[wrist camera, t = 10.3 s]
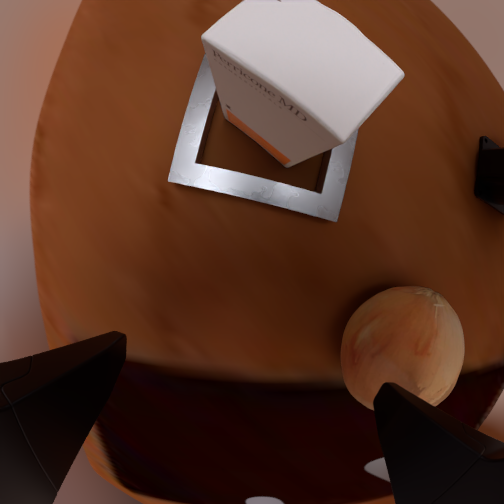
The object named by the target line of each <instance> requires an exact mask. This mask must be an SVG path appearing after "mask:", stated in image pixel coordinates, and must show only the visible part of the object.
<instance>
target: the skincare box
mask: <svg viewBox="0 0 504 504" xmlns="http://www.w3.org/2000/svg"><path fill="white" fill-rule="evenodd" d="M201 39H202V42H203V45H204V49H205V52H206V56H207V59H208V63H209V66H210V69H211V73H212V76H213V79H214V83H215V86H216V90H217V94H218V97H219V100H220V104H221V107H222V111H223V114H224V118H225V119H226V120H228V121H229V122H230V123H232V124H233V125H235V126H236V127H237V128H239V129H240V130H241V131H243V132H244V133H245V134H246V135H248V136H249V137H250V138H252V139H253V140H254V141H256V142H257V143H258V144H259V145H260V146H262V147H263V148H264V149H265V150H266V151H267V152H269V153H270V154H271V155H272V156H273V157H274V158H275V159H277V160H278V161H279V162H280V163H281V164H282V165H283V166H284V167H286V168H289V167H291V166H293V165H295V164H297V163H300V162H302V161H304V160H306V159H309V158H311V157H313V156H316V155H318V154H321V153H323V152H325V151H327V150H330V149H332V148H335V147H337V146H339V145H341V144H344V143H345V142H346V141H347V140H348V139H349V138H350V137H351V135H352V134H353V133H354V132H355V131H356V130H357V129H358V128H359V127H360V126H361V125H362V123H363V122H364V121H365V120H366V119H367V118H368V117H369V116H370V115H371V113H372V112H373V111H374V110H375V109H376V108H377V107H378V106H379V105H380V104H381V102H382V101H383V100H384V99H385V98H386V97H387V96H388V95H389V93H390V92H391V91H392V90H393V89H394V88H395V87H396V86H397V84H398V83H399V82H400V81H401V80H402V79H403V77H404V72H403V71H402V70H401V69H400V68H399V67H398V66H397V65H396V64H395V63H394V62H393V61H392V60H391V59H390V58H389V57H388V56H387V55H386V54H385V53H384V52H383V51H381V50H380V49H379V48H378V47H377V46H376V45H375V44H374V43H372V42H371V41H370V40H369V39H368V38H366V37H365V36H364V35H363V34H362V33H361V32H360V31H359V30H358V29H357V28H356V27H355V26H354V25H353V24H352V23H351V22H349V21H348V20H346V19H345V18H344V17H343V16H341V15H340V14H338V13H337V12H335V11H334V10H332V9H330V8H328V7H326V6H324V5H322V4H321V3H319V2H318V1H316V0H244V1H243V2H241V3H240V4H239V5H237V6H236V7H235V8H233V9H232V10H231V11H230V12H228V13H227V14H226V15H224V16H223V17H222V18H221V19H220V20H218V21H217V22H216V23H215V24H214V25H213V26H212V27H210V28H209V29H208V30H207V31H206V32H205V33H204V34H203V35H202V37H201Z"/></svg>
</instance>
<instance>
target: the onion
mask: <svg viewBox="0 0 504 504" xmlns="http://www.w3.org/2000/svg"><path fill="white" fill-rule="evenodd" d="M463 359H464V336H463V330H462V327H461V323H460V320H459V318H458V316H457V314H456V313H455V311H454V310H453V308H452V307H451V306H450V305H449V303H448V302H447V301H446V299H445V298H444V297H443V296H442V295H441V294H439V293H437V292H434V291H433V290H432V289H429V288H425V287H421V286H404V287H393V288H390V289H387V290H385V291H382V292H380V293H378V294H376V295H374V296H373V297H371V298H370V299H368V300H367V301H366V302H364V303H363V304H362V305H361V306H360V307H359V308H358V309H357V310H356V311H355V312H354V314H353V315H352V316H351V318H350V319H349V321H348V323H347V325H346V327H345V330H344V333H343V337H342V344H341V368H342V374H343V378H344V381H345V384H346V386H347V388H348V390H349V392H350V393H351V394H352V396H353V397H354V398H356V399H357V400H358V401H359V402H360V403H362V404H363V405H364V406H366V407H368V408H370V409H372V410H374V407H373V400H374V398H375V396H376V394H377V393H378V391H379V389H380V387H381V386H382V384H383V383H385V382H394V383H396V384H398V385H399V386H401V387H403V388H404V389H406V390H408V391H409V392H411V393H413V394H414V395H416V396H418V397H419V398H421V399H423V400H424V401H426V402H428V403H429V404H431V405H433V406H436V405H438V404H439V403H440V402H441V401H443V400H444V399H445V398H446V397H447V396H448V395H449V394H450V392H451V391H452V389H453V388H454V386H455V384H456V381H457V379H458V376H459V373H460V370H461V367H462V364H463Z"/></svg>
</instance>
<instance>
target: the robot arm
mask: <svg viewBox="0 0 504 504" xmlns="http://www.w3.org/2000/svg"><path fill="white" fill-rule="evenodd" d="M475 196H476V197H477V198H479V199H480V200H482V201H484V202H485V203H487V204H488V205H490V206H491V207H493V208H494V209H496V210H498V211H499V212H500V213H502V214H503V215H504V148H500V147H499V146H498V145H496V144H495V143H494V142H493V141H492V140H490V139H489V138H488V137H487V136H482V137H481V141H480V154H479V163H478V172H477V179H476V186H475ZM126 343H127V338H126V335H125V334H123V333H120V332H117V331H112V332H109V333H106V334H102V335H99V336H96V337H93V338H89V339H86V340H83V341H80V342H76V343H73V344H70V345H66V346H63V347H60V348H56V349H53V350H49V351H46V352H42V353H39V354H35V355H33V356H28V357H24V358H20V359H17V360H12V361H8V362H3V363H0V504H53V502H54V500H55V498H56V496H57V492H58V491H59V489H60V487H61V485H62V483H63V481H64V479H65V477H66V475H67V473H68V471H69V469H70V467H71V465H72V464H73V461H74V460H75V458H76V456H77V454H78V452H79V450H80V448H81V447H82V445H83V443H84V441H85V439H86V437H87V436H88V434H89V432H90V430H91V428H92V427H93V425H94V423H95V421H96V419H97V418H98V416H99V414H100V412H101V411H102V409H103V407H104V405H105V404H106V402H107V400H108V398H109V396H110V394H111V392H112V390H113V387H114V385H115V383H116V380H117V378H118V376H119V373H120V371H121V369H122V366H123V364H124V362H125V359H126ZM373 407H374V413H375V418H376V424H377V430H378V435H379V440H380V443H381V447H382V451H383V454H384V458H385V462H386V466H387V469H388V474H389V478H390V482H391V486H392V490H393V495H394V499H395V504H504V443H503V442H501V441H499V440H496V439H494V438H492V437H490V436H488V435H486V434H484V433H481V432H479V431H477V430H475V429H474V428H472V427H470V426H468V425H466V424H464V423H463V422H461V421H459V420H457V419H455V418H454V417H452V416H450V415H448V414H447V413H445V412H443V411H441V410H440V409H438V408H436V407H435V406H433V405H431V404H429V403H428V402H426V401H424V400H423V399H421V398H419V397H418V396H416V395H414V394H413V393H411V392H409V391H408V390H406V389H404V388H403V387H401V386H399V385H398V384H396V383H394V382H385V383H383V384H382V386H381V387H380V389H379V391H378V393H377V394H376V396H375V398H374V400H373Z"/></svg>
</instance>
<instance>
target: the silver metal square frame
mask: <svg viewBox="0 0 504 504" xmlns="http://www.w3.org/2000/svg"><path fill="white" fill-rule="evenodd" d="M218 98H219V97H218V94H217V90H216V86H215V83H214V79H213V76H212V73H211V69H210V66H209V63H208V59H207V56H206V53H205V55H204V58H203V61H202V64H201V67H200V69H199V72H198V75H197V78H196V81H195V84H194V87H193V90H192V93H191V97H190V100H189V103H188V106H187V110H186V113H185V116H184V120H183V123H182V127H181V130H180V134H179V138H178V142H177V145H176V149H175V153H174V157H173V161H172V165H171V169H170V174H169V178H168V181H169V182H174V183H179V184H184V185H189V186H193V187H198V188H203V189H207V190H212V191H216V192H221V193H225V194H229V195H234V196H238V197H242V198H246V199H251V200H255V201H259V202H263V203H267V204H271V205H275V206H279V207H283V208H287V209H290V210H294V211H298V212H302V213H305V214H309V215H313V216H316V217H320V218H324V219H327V220H331V221H334V222H337V219H338V216H339V212H340V208H341V204H342V200H343V196H344V192H345V188H346V184H347V180H348V175H349V171H350V167H351V162H352V158H353V153H354V148H355V143H356V139H357V134H358V129H359V128H358V129H357V130H356V131H355V132H354V133H353V134H352V135H351V137H350V138H349V139H348V140H347V141H346V142H345V143H344V144H341V145H339V146H337V147H335V148H332V149H330V150H327V151H325V152H324V157H323V161H322V165H321V169H320V173H319V178H318V182H317V186H316V190H315V192H312V191H309V190H305V189H301V188H298V187H294V186H290V185H287V184H283V183H279V182H275V181H271V180H268V179H264V178H260V177H255V176H251V175H247V174H243V173H239V172H234V171H230V170H225V169H221V168H216V167H211V166H207V165H202V164H200V163H201V159H202V155H203V152H204V148H205V144H206V140H207V136H208V133H209V129H210V125H211V122H212V118H213V115H214V111H215V108H216V104H217V101H218Z"/></svg>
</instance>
